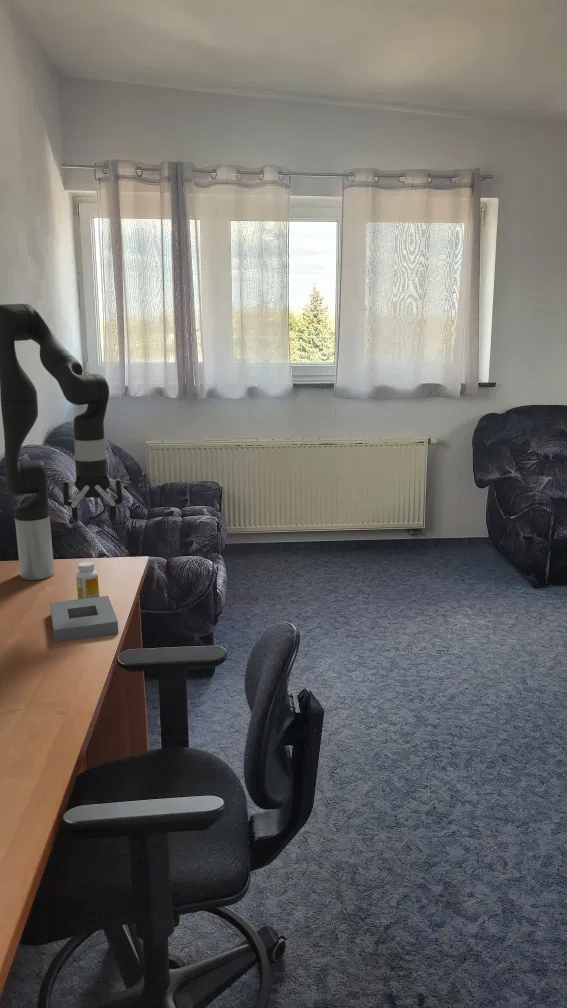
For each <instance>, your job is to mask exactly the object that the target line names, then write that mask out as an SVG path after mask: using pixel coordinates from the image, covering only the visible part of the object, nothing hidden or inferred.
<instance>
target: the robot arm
mask: <svg viewBox="0 0 567 1008" xmlns="http://www.w3.org/2000/svg"><path fill="white" fill-rule="evenodd" d="M29 340H31V341H33V342H34V343H37V344H38V346H39V359H40V362H41V364H42V366H43V368H44V369H45V370H46V371H47V372H48V373H49V375H51V376H52V377H53V378H54V379H55V380H56V382H57V384H58V386H59V388H60V389H61V390H60V391H61V392H62V394H63V397H64V398H65V400H66V401H68V402H69V403H70V404H73V405H75V406H84V405H85V406H86V405H87V406H86V410H85V411H84V412H82V413H80V414H78V415H76V416H75V417H74V419H73V433H74V434H73V435H74V445H73V446H74V462H75V481H73V480H72V481H71V480H70V481H69V480H68V479H65V480H64V481H63V484H62V486H63V487H62V489H63V493H62V495H63V496H62V498H63V501H62V504H63V506H65V507H66V506H68V507H70V508H71V519H72V520H73V521H74V523H78V522H80V521H79V520H80V519H79V506H78V504H79V503H80V502H81V500H82V499H83V498H84V497H85V498H86V499H90V498H91V499H92V498H96V499H98V498H101V497H103V499H104V500H105V501H107V503H108V504H109V516H110V520H109V521H114V519H116V516H117V509H116V508H117V507H116V506H117V505H119V504H123V502H124V498H123V496H124V495H123V489H122V488H123V487H122V480H121V479H120V478H119V477H118V478H116V479H109V476H108V461H107V460H108V458H107V454H108V453H107V446H106V440H105V425H104V423H105V422H104V421H105V417H106V412H107V406H108V403H109V396H110V387H109V383H108V382H107V379H106V378H105V376H103V375H101V374H99V373H90V374H83V373H84V371H83V370H84V369H83V366H82V363H80V361H79V360H78V359H77V358H76V357H75V356H73V354H72V353H70V351H68V349H66V348H65V346H64V345H62V343H61V342H60V341H59V340H58V338H57V337H56V335H55V334H54V332H53V331H52V329H51V328H50V327H49V325H48V323H47V322H46V320H45V319H44V317H43V316H42V315H41V314H40V311H38V310H37V309H36V308H35V306H33V305H31V304H28V303H12V304H11V303H5V304H3V303H2V304H0V409H1V417H2V427H3V435H4V436H3V437H4V438H3V439H4V479H5V486H6V490H7V492H8V493H9V495H11V496H18V495H19V496H21V495H30V494H34V495H33V497H32V498H31V499H29V500H28V501H27V502H24V503H22V504H20V505H18V506H17V507H15V509H14V523H15V532H16V534H15V535H16V543H17V553H18V562H19V563H18V564H19V573H20V574H19V575H20V576H19V577H20V578H21V579H22V580H25V581H38V580H44V579H48V578H50V577H52V576H54V574H55V568H54V567H55V566H54V556H53V555H54V554H53V544H52V542H53V541H52V531H51V530H52V529H51V520H50V519H51V518H50V505H49V490H48V489H49V486H48V484H49V483H48V482H49V481H48V479H49V478H48V470H47V466H46V463H45V462H44V461H43V460H42V459H34V460H33V459H31V460H20V461H19V457H20V456H19V455H20V452H21V449H22V446H23V444H24V442H25V439H26V438H27V436H28V435H29V433H30V432H31V430H32V428H33V427H34V425H35V423H36V421H37V419H38V417H39V406H38V392H37V389H36V387H35V385H34V383H33V381H32V380H31V379H30V377H29V376H28V374H27V373H26V371H24V369H23V368H22V366H21V364H20V362H19V359H18V358H17V353H16V346H15V342H21V341H23V342H24V341H29ZM110 486H112V488H113V489H115V491H116V498H114V496H113V495H111V493H110V492H109V491H108V488H109V487H110ZM73 487H75V488H76V489H77V491H79V492H77V494H76V496H75V498H74V499H73V500H70V491H72V489H73Z"/></svg>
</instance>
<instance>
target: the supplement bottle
mask: <svg viewBox="0 0 567 1008" xmlns="http://www.w3.org/2000/svg"><path fill="white" fill-rule="evenodd" d="M77 568H78V571H77V573H76V575H75V577H76V590H77V591H76V592H77V600H78V599H86V598H93V597H100V588H99V587H100V586H99V575H98V574H99V573H98V572H97V570H95V563H94V562H93V561H83V562H79V563H78V567H77Z"/></svg>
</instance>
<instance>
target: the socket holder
mask: <svg viewBox="0 0 567 1008" xmlns="http://www.w3.org/2000/svg"><path fill="white" fill-rule="evenodd" d="M49 606H50V607H49V608H50V617H51V618H50V619H51V625H52V632H53V637H54V638H53V639H54V644H55V643H56V644H57V643H63V642H64V643H65V642H69V641H77V640H84V639H90V638H97V637H105V636H111V635H117V634H119V621H118V619H117V616H116V613H115V611H114V608H113V604H112V602H111V600H110V598H109V595H103V596H101V595H100V596H99V597H93V598H86V599H78V598H77V599H71V600H70V599H69V600H64V601H55V602H49Z"/></svg>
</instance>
